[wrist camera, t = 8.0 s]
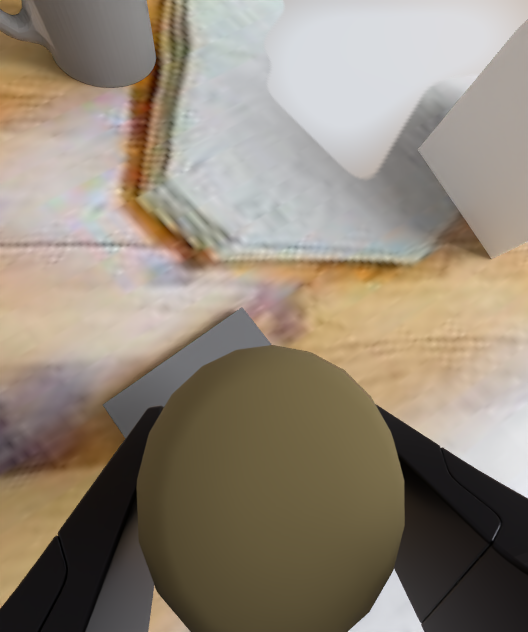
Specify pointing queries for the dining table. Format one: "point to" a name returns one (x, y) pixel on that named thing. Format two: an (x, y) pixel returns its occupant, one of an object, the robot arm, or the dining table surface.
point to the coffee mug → (89, 37)
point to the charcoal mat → (183, 368)
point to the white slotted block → (489, 150)
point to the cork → (270, 496)
